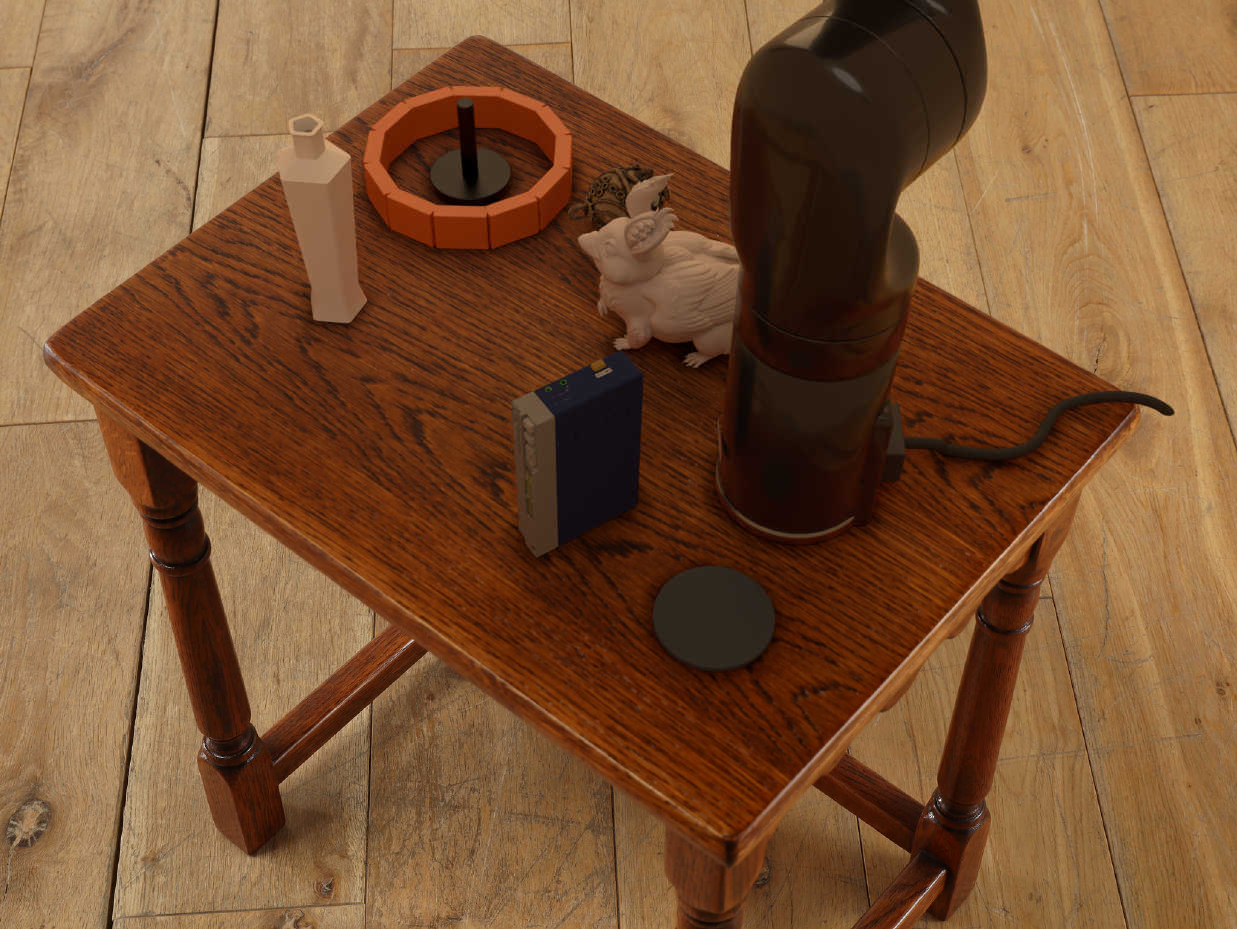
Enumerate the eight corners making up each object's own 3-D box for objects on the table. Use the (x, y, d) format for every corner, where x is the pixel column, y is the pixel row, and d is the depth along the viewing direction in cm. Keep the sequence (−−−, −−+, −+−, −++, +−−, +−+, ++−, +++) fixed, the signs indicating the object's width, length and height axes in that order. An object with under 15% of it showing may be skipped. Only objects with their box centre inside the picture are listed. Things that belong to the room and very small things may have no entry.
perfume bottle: (377, 282, 102) (351, 103, 90) (364, 327, 99) (335, 148, 88) (312, 277, 102) (277, 97, 91) (297, 322, 99) (259, 142, 88)
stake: (514, 155, 111) (510, 77, 105) (509, 208, 107) (504, 130, 102) (434, 154, 111) (426, 75, 105) (426, 207, 107) (417, 128, 102)
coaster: (771, 570, 87) (772, 567, 87) (777, 673, 83) (778, 669, 82) (652, 568, 87) (652, 564, 87) (652, 670, 82) (652, 666, 82)
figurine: (575, 295, 101) (574, 147, 92) (791, 284, 102) (813, 137, 93) (583, 381, 96) (582, 234, 87) (811, 370, 97) (836, 223, 87)
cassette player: (618, 480, 91) (622, 344, 82) (639, 505, 90) (646, 370, 81) (515, 532, 88) (507, 398, 79) (536, 559, 87) (530, 425, 78)
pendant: (682, 239, 105) (686, 184, 101) (582, 266, 103) (582, 211, 99) (654, 195, 108) (656, 140, 104) (556, 221, 106) (555, 166, 102)
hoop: (575, 120, 114) (575, 88, 111) (567, 251, 104) (567, 219, 102) (382, 115, 114) (378, 83, 111) (357, 246, 104) (352, 214, 102)
